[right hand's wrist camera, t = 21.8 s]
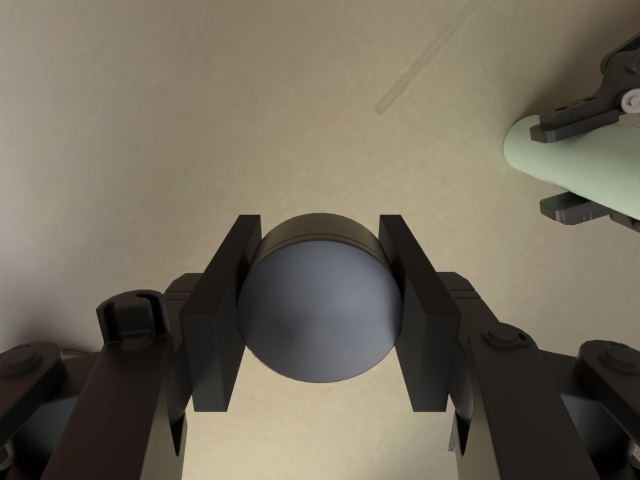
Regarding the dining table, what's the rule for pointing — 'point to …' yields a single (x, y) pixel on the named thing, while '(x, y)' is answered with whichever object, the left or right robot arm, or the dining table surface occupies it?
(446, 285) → the right robot arm
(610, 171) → the bottle
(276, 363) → the lid
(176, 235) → the dining table surface
